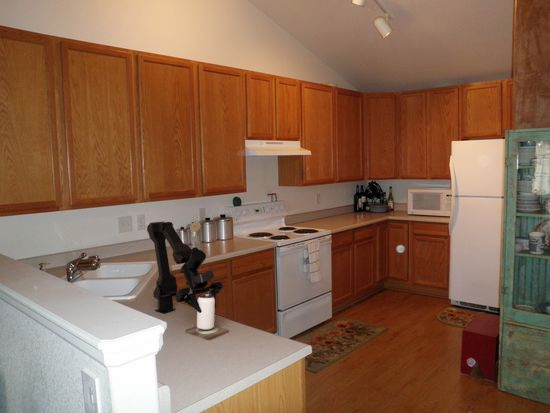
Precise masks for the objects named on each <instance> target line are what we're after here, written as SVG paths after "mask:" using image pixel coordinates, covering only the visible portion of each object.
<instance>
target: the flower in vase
mask: <svg viewBox="0 0 550 413" xmlns="http://www.w3.org/2000/svg"><path fill="white" fill-rule="evenodd" d="M201 227H202V226H201V222H199V221H197V220H196V221H194V222H191V224H190V226H189V229H190V233H191V234H193V236H190V238H191V241H192V246H191V247H190V248H191V249H192V248H195V242H196V241H197V238H198V236H202V234H201V232H199V230H200V229H201Z"/></svg>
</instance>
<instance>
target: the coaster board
mask: <svg viewBox="0 0 550 413" xmlns="http://www.w3.org/2000/svg"><path fill="white" fill-rule="evenodd" d="M229 332H230V331H229V329H228V328H224V327H221V326H218V325H215V324H214V327H213V328H212V329H208V330H202V329H199V328H198V327H197V325H194V326H193V327H190V328H187V329H185V333H187V334H189V335H192V336H195V337H198V338H201V339H204V340H208V341H212V340H214V339H216V338H218V337H221V336H224V335H226V334H227V333H228V334H229Z"/></svg>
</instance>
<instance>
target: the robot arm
mask: <svg viewBox="0 0 550 413" xmlns="http://www.w3.org/2000/svg"><path fill="white" fill-rule="evenodd" d="M146 232H147V233H148V237H149V239H150V240H151V241H152V242H153V244H154V245H153V246H154V251H155V257H156V265H157V271H158V277H157V279H156V282H155V283H156V287H155V289H154V290H153V292H152V295H153V298H154V299H156V300H157V308H156V309H155V310H154V311H155V312H158V313H162V314H168V313H171V312H173V311H176V309H177V308H175V307H174V302H173V301H174V299H175V302H176V303H177V304H178V303H182V302H183V303H184V304H188V306H190V307H192V308H193V309H194V310H196V312H197V311H198V312H199V313H201V312H202V310H201V308H200V306H199V303H198V298H197V295H199V294H200V295H201V294H205V293H206V294H211V295H213V296H214V299H215V310H216V309H217V298H216V297H217V294H219V293H220V292H221V290H222V289H223V287H224V284H223V282H222V281H221V280H218V281H212V279H215V273H214V271H213V270H212V269H211V270H210V269H209V270H207V271H206V272H204V273H201V272H200V271H199V269H200V268H201V267H202V265H203V263H204V262H205V260H206V258H207V257H206V253H205V252H204V251H203V250H202V249H201V250H199V249H198V248H197V247H195V248H192V247H190V246H189V244H186V243H184V242H183V241H182V239H181V237H180V236H179V234H178V232H177V231H176V229H175V227H174V224H173V222H172V221H155V222H154V221H153V222H149V224H148V225H147V226H146ZM166 241H167V242H168V244H169V246H170V247H171V249H172V257H173V261H174V262H175V263H176V264H177V265H182V264H183V265H182V266H181V269H180V271H179V273H180V274H183V276H184V278H185V281H186V282H185V284H186V286H188V287H183V288H179V290H178V284H177V278H176V276H175V275H172V273H171V270H170V263H169V262H170V261H169V257H168V256H169V255H168V250H167V243H166ZM191 248H192V249H191ZM211 281H212V282H211ZM209 282H211V284H210V285H209V286H208V284H209ZM173 297H174V299H173Z"/></svg>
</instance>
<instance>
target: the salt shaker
mask: <svg viewBox="0 0 550 413" xmlns="http://www.w3.org/2000/svg"><path fill="white" fill-rule="evenodd" d="M201 244H202V243H201V241H200V240H196V242H195V247H197V248H198V249H199V250H201V251H202V248H201Z"/></svg>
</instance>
